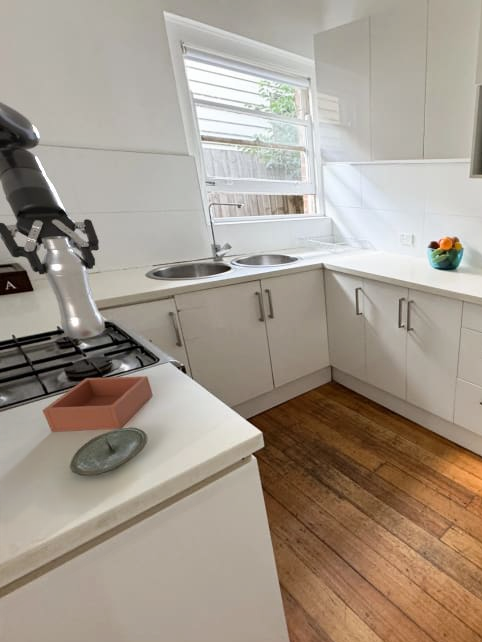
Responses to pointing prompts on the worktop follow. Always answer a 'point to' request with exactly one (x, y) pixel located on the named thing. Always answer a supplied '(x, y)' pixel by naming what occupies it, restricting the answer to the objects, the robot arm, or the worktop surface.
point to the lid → (108, 451)
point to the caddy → (98, 404)
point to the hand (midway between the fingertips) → (67, 268)
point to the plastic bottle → (71, 289)
